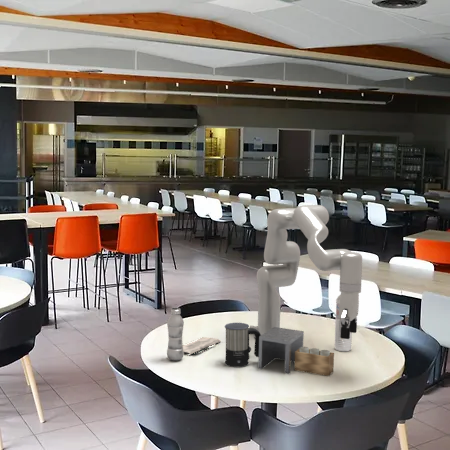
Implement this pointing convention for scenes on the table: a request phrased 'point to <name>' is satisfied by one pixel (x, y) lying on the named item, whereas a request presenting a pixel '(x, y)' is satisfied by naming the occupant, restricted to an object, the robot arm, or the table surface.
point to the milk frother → (239, 344)
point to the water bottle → (340, 342)
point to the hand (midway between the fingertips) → (348, 335)
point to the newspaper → (200, 344)
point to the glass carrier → (314, 361)
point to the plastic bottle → (175, 335)
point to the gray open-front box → (279, 346)
